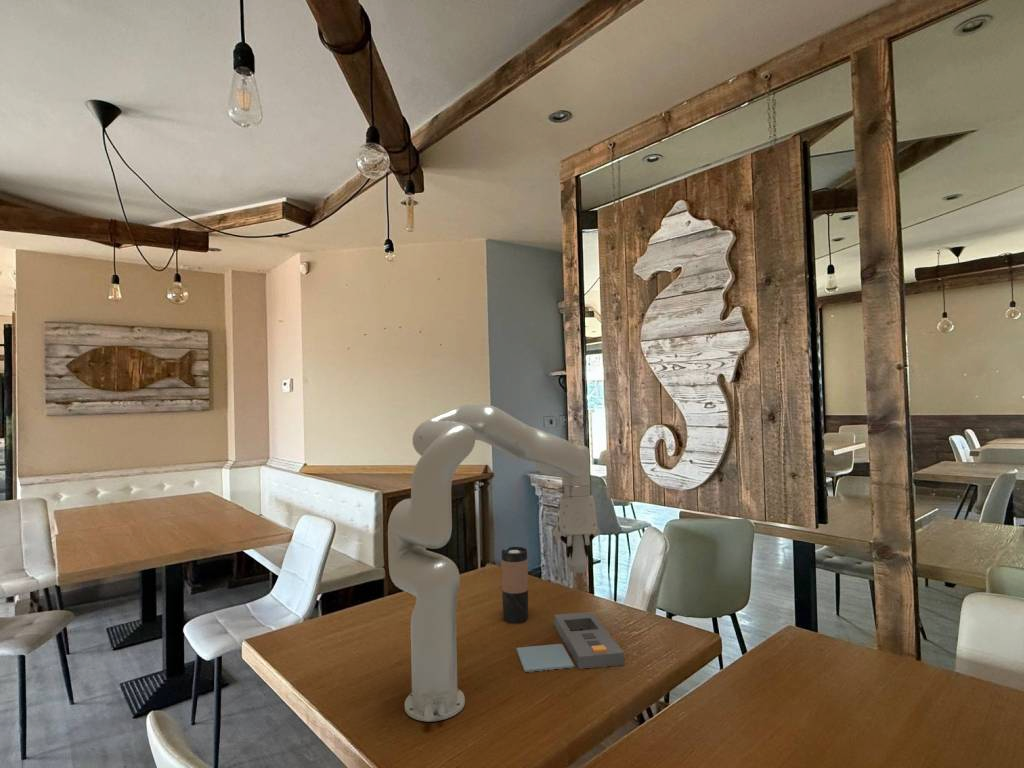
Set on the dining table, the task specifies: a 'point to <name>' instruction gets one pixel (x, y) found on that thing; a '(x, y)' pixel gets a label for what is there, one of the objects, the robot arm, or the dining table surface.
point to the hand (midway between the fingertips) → (577, 558)
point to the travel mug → (515, 585)
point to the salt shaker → (577, 555)
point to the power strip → (588, 640)
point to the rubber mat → (544, 657)
